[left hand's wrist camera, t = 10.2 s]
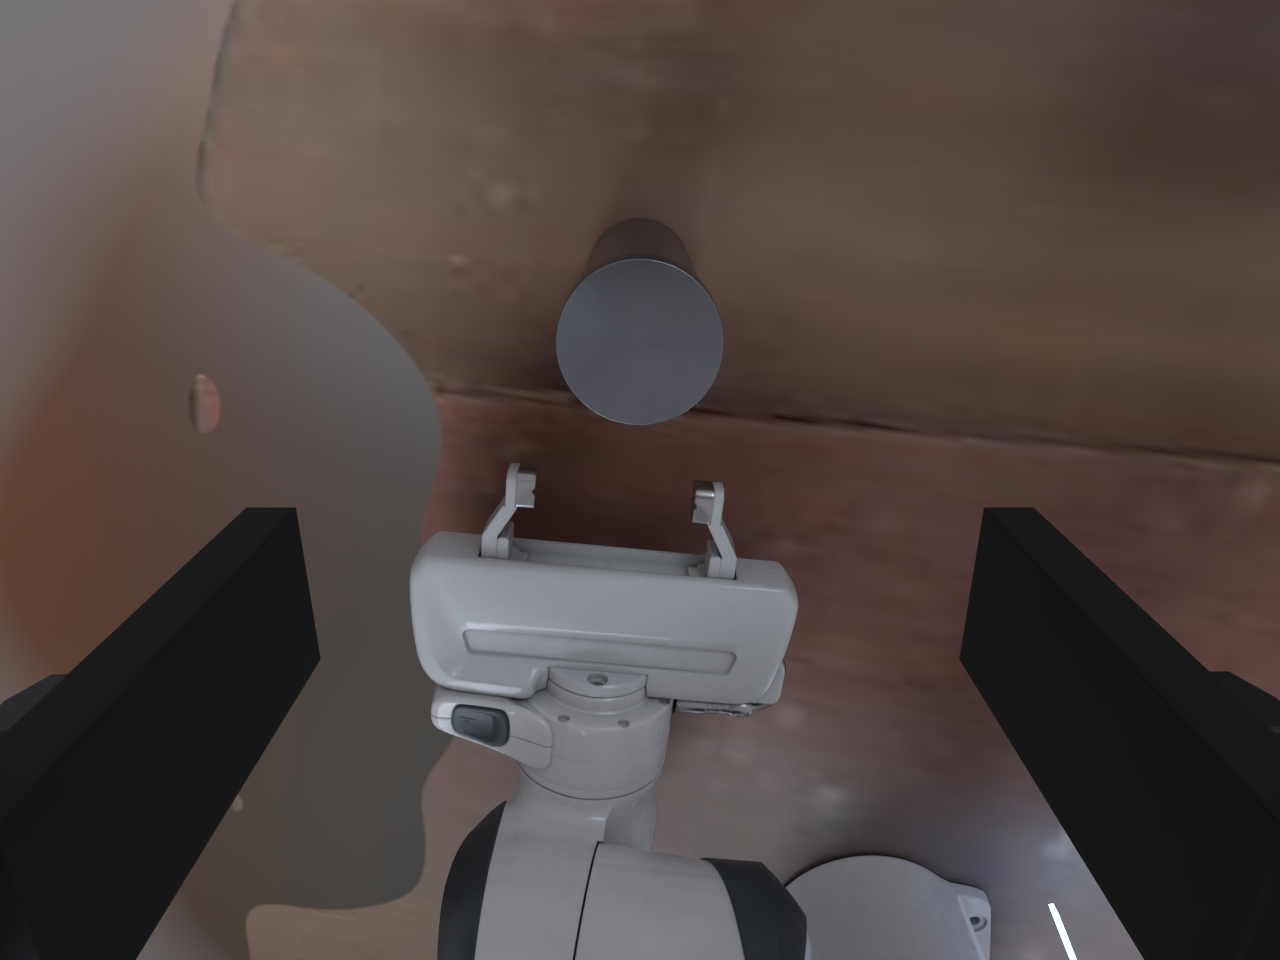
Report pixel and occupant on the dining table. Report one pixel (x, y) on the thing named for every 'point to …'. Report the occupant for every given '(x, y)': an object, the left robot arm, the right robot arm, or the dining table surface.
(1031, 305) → the dining table surface
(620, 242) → the jar
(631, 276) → the lid
